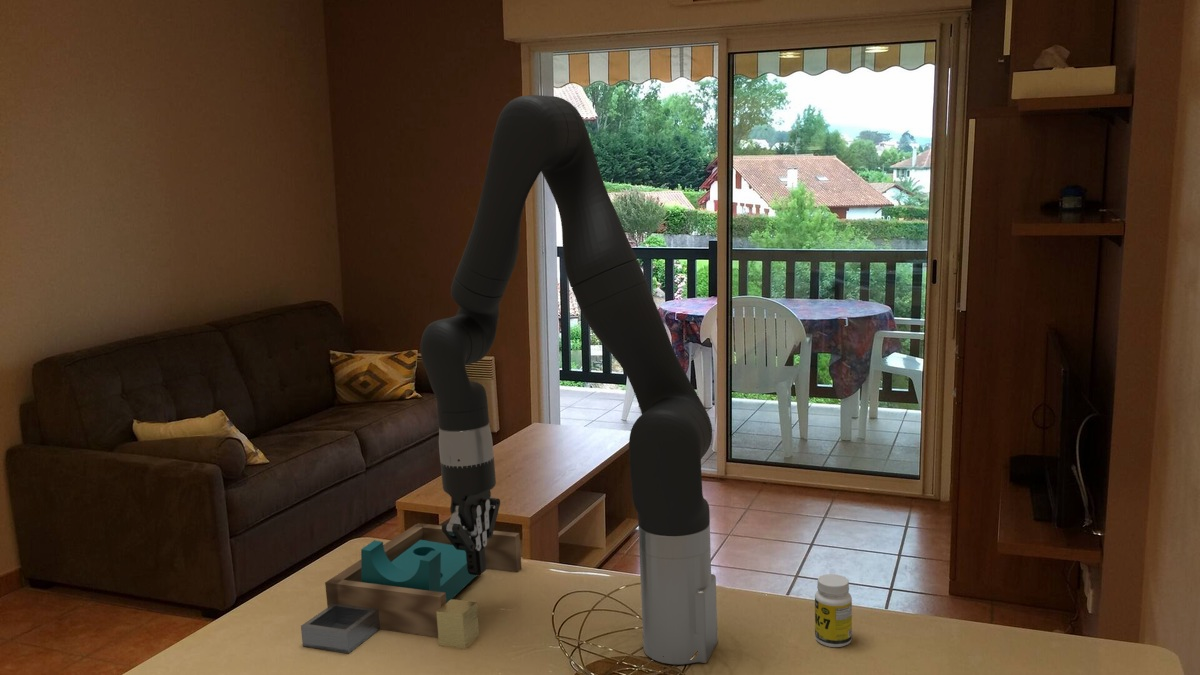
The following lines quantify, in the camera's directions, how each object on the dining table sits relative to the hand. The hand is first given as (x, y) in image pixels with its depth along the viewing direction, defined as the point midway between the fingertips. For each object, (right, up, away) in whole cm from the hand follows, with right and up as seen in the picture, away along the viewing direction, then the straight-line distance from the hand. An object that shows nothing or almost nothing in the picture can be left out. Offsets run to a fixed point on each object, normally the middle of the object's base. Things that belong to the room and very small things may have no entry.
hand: (477, 572), depth 139 cm
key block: (-2, -8, -7) cm, 10 cm away
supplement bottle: (+49, -6, -11) cm, 50 cm away
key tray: (-18, -8, -4) cm, 20 cm away
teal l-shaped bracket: (-9, -6, +8) cm, 14 cm away
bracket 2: (-8, -5, +9) cm, 14 cm away
